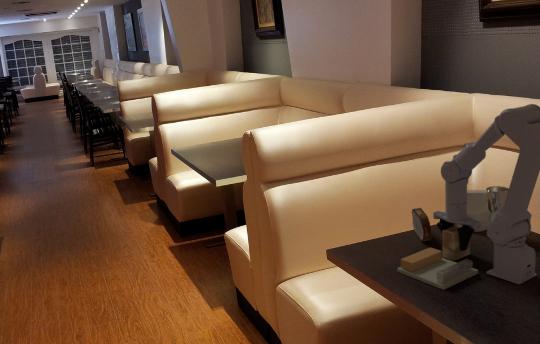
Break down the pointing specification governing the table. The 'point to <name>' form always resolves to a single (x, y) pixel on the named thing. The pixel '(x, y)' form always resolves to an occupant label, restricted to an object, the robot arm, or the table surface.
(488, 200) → the beer glass
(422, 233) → the tin
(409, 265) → the block
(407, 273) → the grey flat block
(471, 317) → the table surface
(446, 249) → the maple block
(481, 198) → the white upright cylinder
